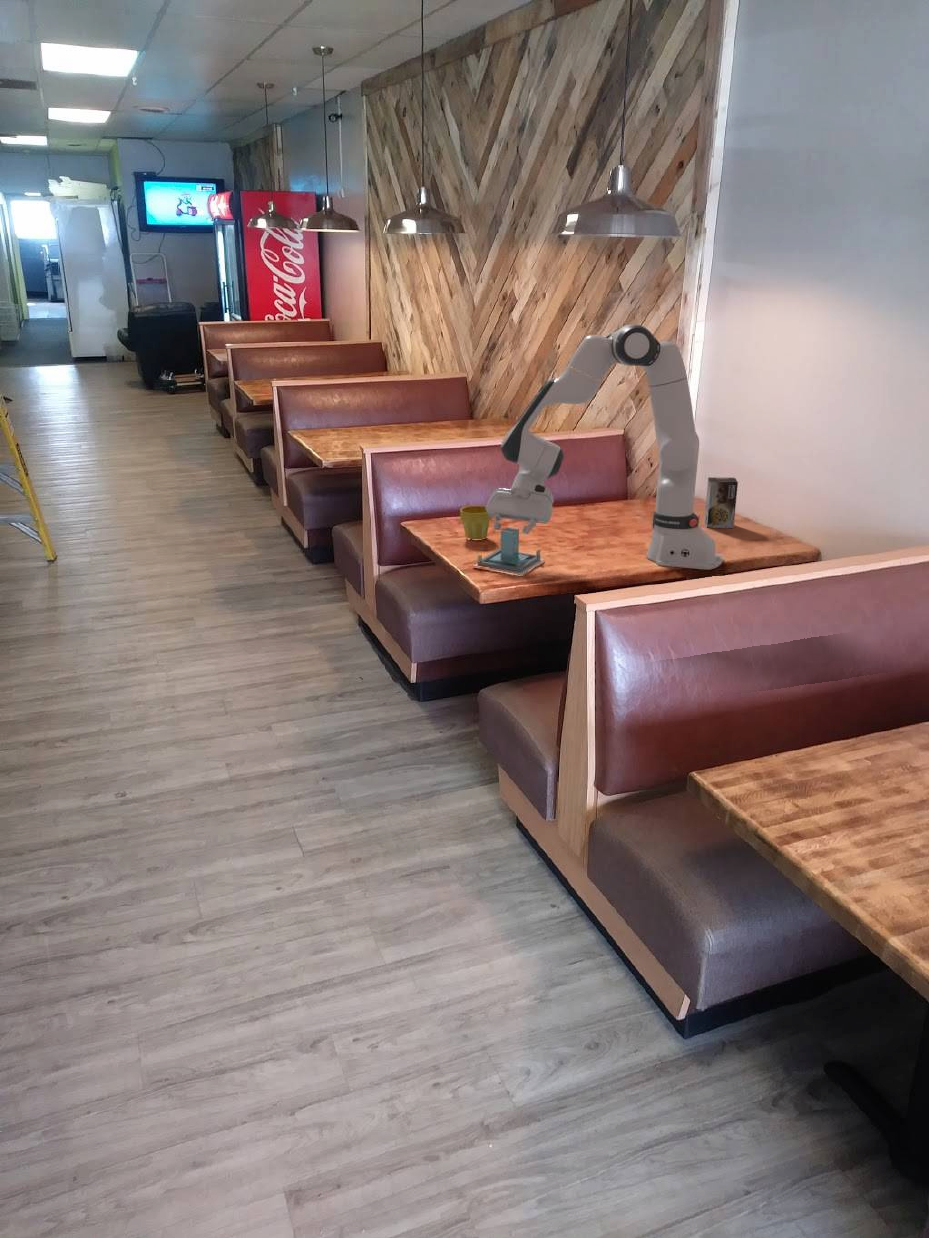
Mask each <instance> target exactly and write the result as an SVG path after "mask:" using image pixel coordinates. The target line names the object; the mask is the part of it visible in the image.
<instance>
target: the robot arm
mask: <svg viewBox="0 0 929 1238" xmlns="http://www.w3.org/2000/svg"><path fill="white" fill-rule="evenodd" d="M616 364H621V365H623V366H627V367H628V366H629V367H630V366H631V367H632V366H634V367H635V366H638V367H639V366H640V367H642V369H643V371H644V373H645V375H646V381H647V386H648V392H649V398H650V404H651V409H652V414H653V416H652V417H653V423H654V431H655V432H654V433H655V437H656V439H655V440H656V445H657V451H658V458H659V465H658V466H659V468H658V476H657V485H656V496H655V509H654V510H653V516H652V523H651V524H652V534H651V540H650V544H649V546H648V549H647V552H646V557H647V558H648V559H649V560H650V561H653V562H654V563H655V564H657V565H658V566H664V567H673V568H674V567H675V568H676V567H677V568H685V569H697V570H713V569H716V568H718V567H720V566H721V565H722V563H723V561H724V560H723V555H721V554H719V553H717V552H716V549H717V548H716V543H715V540H714V538H712V537H711V536H710V535H709V534H708V533H707V532H706V531H705V530H703V529H702V528H701V527H700V526H699V523H700V520H701V515H700V514H699V515H697V514H696V513H695V512H694V507H695V506H694V505H695V504H694V503H695V496H696V495H695V493H696V484H697V472H698V462H699V461H698V460H699V454H700V453H699V451H700V438H699V436H698V433H697V432H696V427H695V419H694V413H693V404H692V398H691V392H690V386H689V382H688V376H687V370H686V366H685V361H684V359H683V356H682V352H681V350H680V348H679V346H678V345H677V344H676V343H674V342H672V341H666V340H665V341H658V340H657V338H656V337H655V335H654V334H653V333H652V332H651V331H650V330H649V329H648V328H647V327H644V326H642V325H638V324H626V325H624V326H621V327H618V328H617V329H615V330H614V331H613V332H611V333H610V334H609V335H607V336H606V337H604V336H602V335H598V334H590V335H587V336H585V337H584V339H582V341H581V342H580V344H579V345H578V346H577V348H576V350H575V351H574V353H573V354H572V356H571V358H570V360H569V361H568V364H567V366H566V368H565V369H564V371H563V372H562V373H561V374H560V375H558V377H555V378H550V379H549V380H547V381H546V382H545V383H544V384H543V385H542V386H541V387H540V389H539V391H538V392H537V393H536V394H535V396H534V397H533V398H532V400H531V401H530V403H529V404H528V405H527V407H526V408H525V410H524V411H523V413H522V414H521V416H520V417H519V418H518V420H517V421H516V422H515V424H513V427H512V428H511V429H510V430H509V431H508V432H507V433H506V434H505V435H504V437H503V440H502V441H501V446H500V451H501V453H502V455H503V457H504V459H505V460H506V461H507V462H511V463H513V464H517V465H519V466H518V472H517V474H516V475H515V477H514V478H513V479H514V480H513V483H512V486H510V488H503V487H498V488H496V489H494V490H493V491H492V493H491V495H490V498H489V499H488V501H487V504H486V508H485V509H486V512H487V513H488V515H489V516H491V517H492V518H493V519H494V525H493V529H494V530H495V531H500V530H501V528H502V523H500V521H501V520H502V519H507V520H514V521H521V522H529V523H528V524H527V525H524V526H523V528H522V532H521V533H523V534H524V535H530V531H531V530H532V529H534V528H535V527H536V526H537V524H543V525H546V524H548V523H549V522H550V521H551V518H552V514H553V509H554V507H553V504H554V502H555V498H554V496H553V494H552V493H553V492H552V491H551V489H549V488H548V487H547V486H545V485H544V481H545V480H547V479H550V478H553V477H555V476H556V475H557V474H558V473H559V472H560V469H561V466H562V465H563V464H562V463H563V460H564V458H565V454H564V451H563V449H562V447H560V446H559V445H558V444H556V443H554V442H552V441H549V440H547V439H544V438H543V437H540V436H538V435H536V434H534V433H532V432H531V431H530V429H531V427H532V426H533V424H534V423H535V421H536V420H537V419H538V418H539V416H540V414H541V413H542V412H543V410H544V409H545V408H546V407H548V406H550V405H554V404H568V405H580V404H581V405H582V404H586V403H587V402H589V401H591V400H592V399H593V398H594V397H595V395H596V394H597V392H598V391H599V389H600V388H601V386H602V383H603V381H604V379H605V376H606V375H607V372H608V371H610V369H611V367H613V366H614V365H616Z"/></svg>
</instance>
